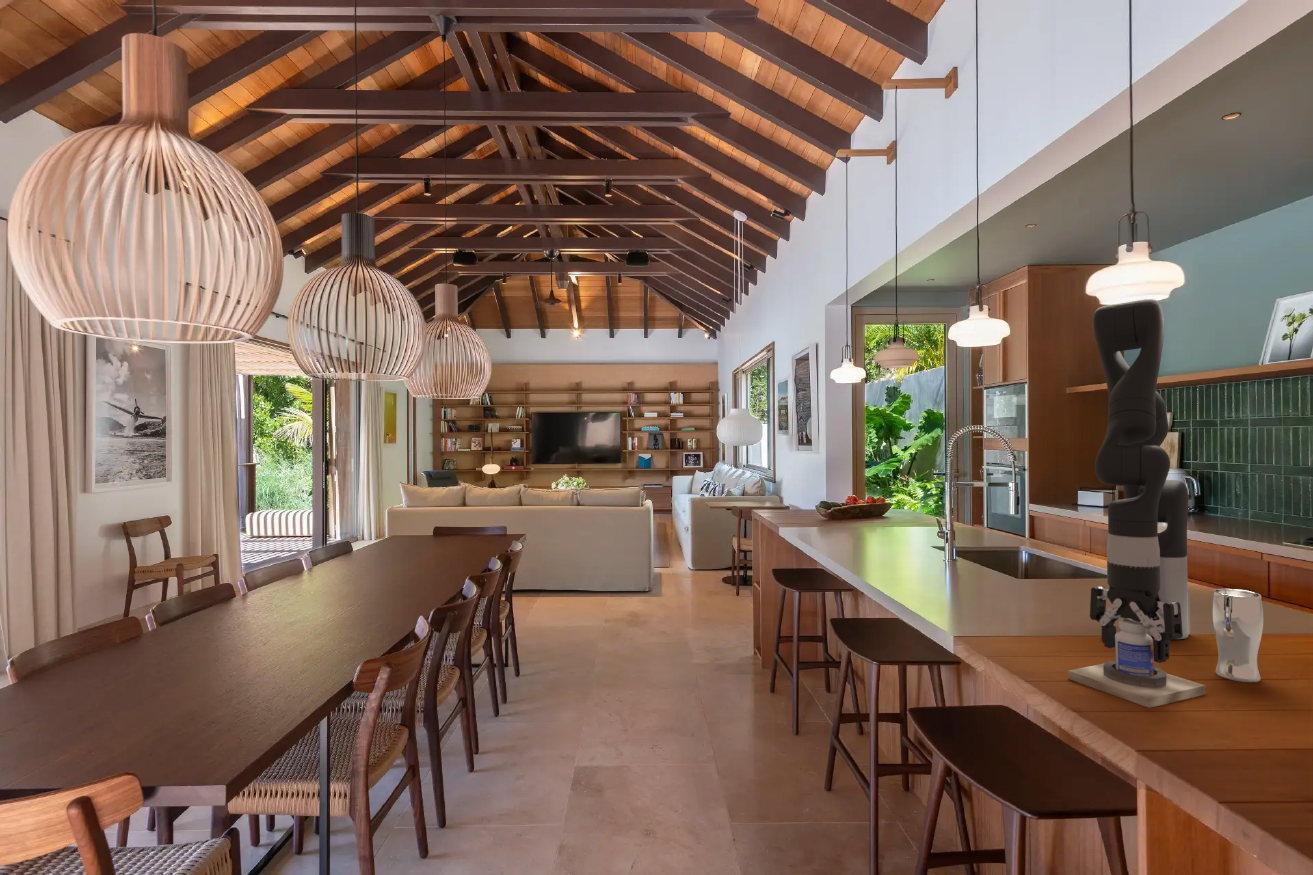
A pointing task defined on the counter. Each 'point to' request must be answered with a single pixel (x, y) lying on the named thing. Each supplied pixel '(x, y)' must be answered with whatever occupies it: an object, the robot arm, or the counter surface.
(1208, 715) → the counter surface
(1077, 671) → the collar base
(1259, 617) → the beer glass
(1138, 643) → the pill bottle
